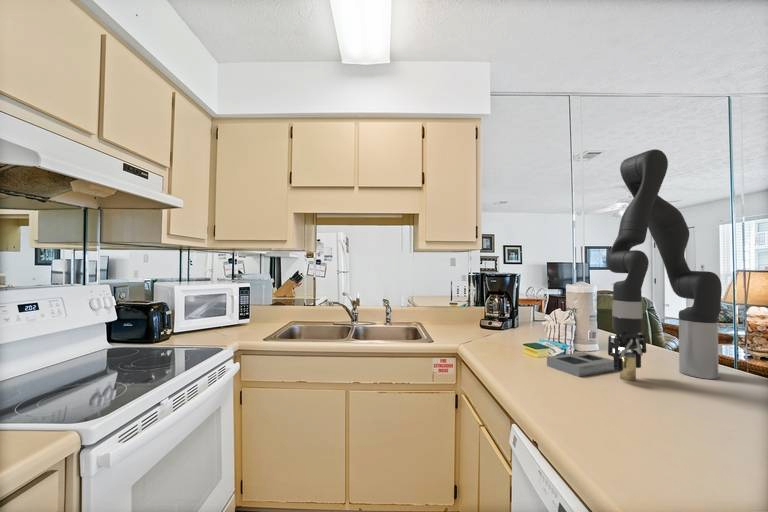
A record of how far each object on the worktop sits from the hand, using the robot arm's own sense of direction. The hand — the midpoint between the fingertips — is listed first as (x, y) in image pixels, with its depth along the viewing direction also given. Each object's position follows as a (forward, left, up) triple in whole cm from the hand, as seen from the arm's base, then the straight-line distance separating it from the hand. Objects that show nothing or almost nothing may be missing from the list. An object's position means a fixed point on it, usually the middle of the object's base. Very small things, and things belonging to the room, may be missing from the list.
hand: (627, 368), depth 102 cm
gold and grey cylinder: (0, 0, -3) cm, 3 cm away
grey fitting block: (+3, -13, -3) cm, 14 cm away
